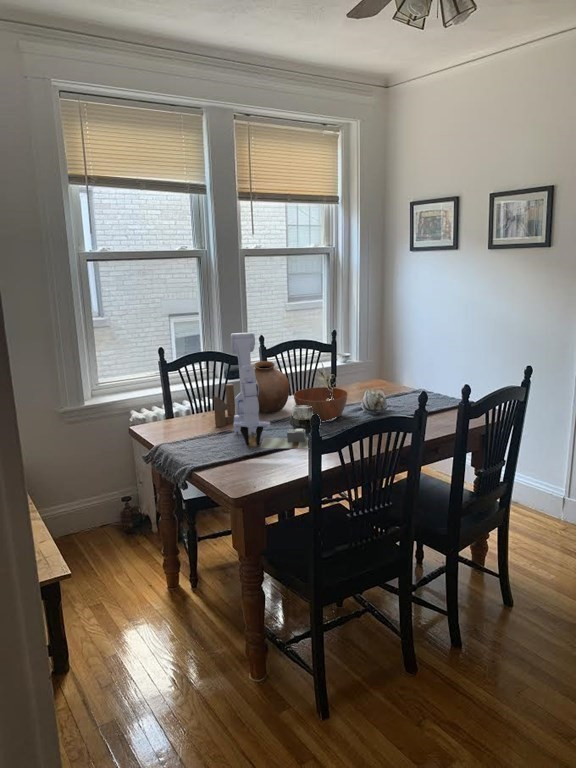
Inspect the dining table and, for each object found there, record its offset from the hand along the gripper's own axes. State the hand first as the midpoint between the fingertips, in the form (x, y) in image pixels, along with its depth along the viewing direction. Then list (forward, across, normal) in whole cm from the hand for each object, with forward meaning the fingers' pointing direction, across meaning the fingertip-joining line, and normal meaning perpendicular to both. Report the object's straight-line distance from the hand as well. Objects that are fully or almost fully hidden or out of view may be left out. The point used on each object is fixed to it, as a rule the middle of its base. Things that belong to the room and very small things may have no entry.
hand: (253, 444), depth 228 cm
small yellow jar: (+2, 0, 0) cm, 2 cm away
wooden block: (+2, -18, +32) cm, 37 cm away
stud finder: (0, +17, +6) cm, 18 cm away
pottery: (+2, -2, +50) cm, 50 cm away
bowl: (+2, +25, +41) cm, 48 cm away
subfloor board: (+2, +13, +3) cm, 13 cm away
